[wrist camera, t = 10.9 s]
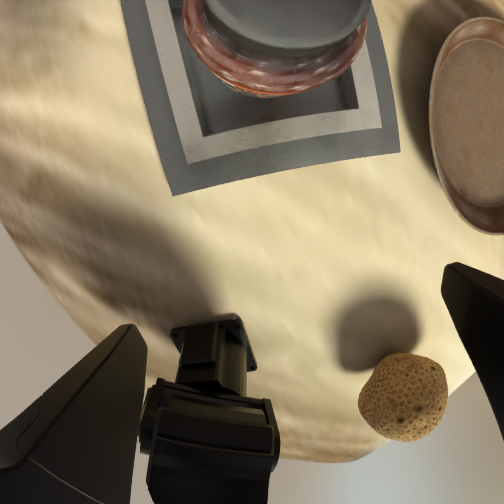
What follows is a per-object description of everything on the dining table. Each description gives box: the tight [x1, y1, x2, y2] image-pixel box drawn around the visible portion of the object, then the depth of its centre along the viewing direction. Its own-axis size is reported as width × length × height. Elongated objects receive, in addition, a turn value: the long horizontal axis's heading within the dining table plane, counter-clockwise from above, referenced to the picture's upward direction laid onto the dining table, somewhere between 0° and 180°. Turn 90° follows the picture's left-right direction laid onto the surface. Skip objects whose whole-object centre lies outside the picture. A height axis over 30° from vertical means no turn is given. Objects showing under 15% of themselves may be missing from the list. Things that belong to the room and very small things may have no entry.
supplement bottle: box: [182, 0, 371, 98], centre depth 9 cm, size 6×6×11 cm
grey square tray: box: [121, 0, 400, 196], centre depth 14 cm, size 15×15×3 cm
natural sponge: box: [358, 353, 448, 442], centre depth 23 cm, size 9×9×10 cm
